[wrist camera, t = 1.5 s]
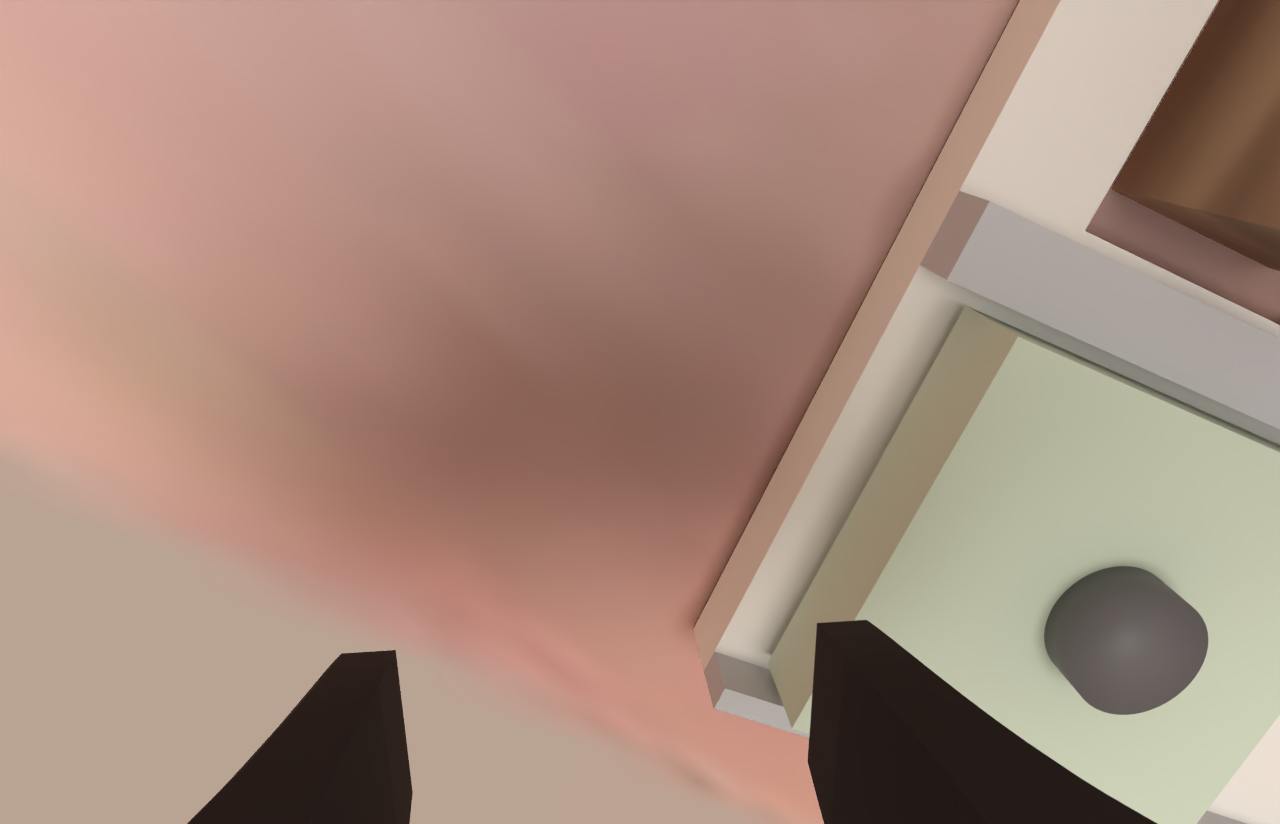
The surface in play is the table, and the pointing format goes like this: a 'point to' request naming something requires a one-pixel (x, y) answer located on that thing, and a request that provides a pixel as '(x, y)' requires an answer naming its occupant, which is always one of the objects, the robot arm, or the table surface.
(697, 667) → the table surface
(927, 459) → the sliding cover
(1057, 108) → the puzzle board
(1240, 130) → the walnut block
